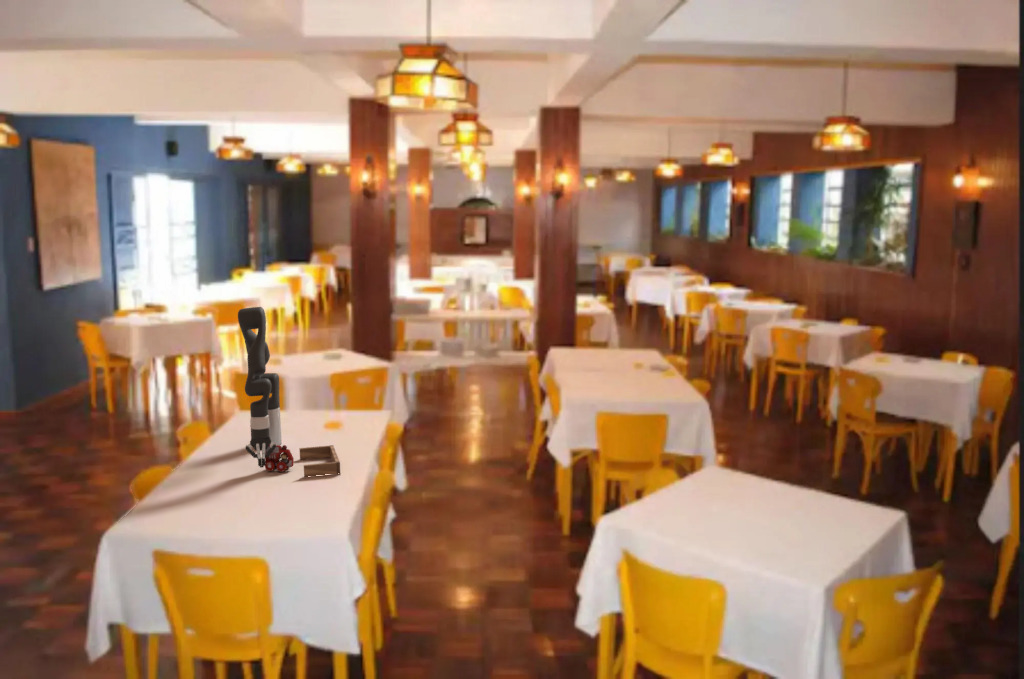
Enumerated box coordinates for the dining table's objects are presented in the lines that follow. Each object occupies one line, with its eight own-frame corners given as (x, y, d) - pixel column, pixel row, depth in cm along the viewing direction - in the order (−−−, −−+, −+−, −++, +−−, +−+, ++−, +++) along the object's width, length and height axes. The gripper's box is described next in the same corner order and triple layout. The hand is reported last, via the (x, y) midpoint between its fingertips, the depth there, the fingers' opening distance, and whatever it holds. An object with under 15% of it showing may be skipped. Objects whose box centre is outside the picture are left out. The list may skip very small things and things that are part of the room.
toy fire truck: (289, 472, 376) (289, 447, 375) (261, 470, 378) (260, 446, 377) (296, 468, 383) (295, 443, 382) (268, 466, 385) (267, 442, 384)
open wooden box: (299, 459, 396) (299, 448, 395) (333, 456, 400) (333, 445, 399) (304, 477, 370) (303, 465, 370) (340, 474, 374) (339, 462, 374)
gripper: (276, 423, 380) (277, 463, 383) (243, 425, 377) (245, 465, 379) (276, 427, 373) (278, 468, 376) (243, 429, 370) (245, 470, 372)
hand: (261, 466), depth 378 cm, fingers closed
